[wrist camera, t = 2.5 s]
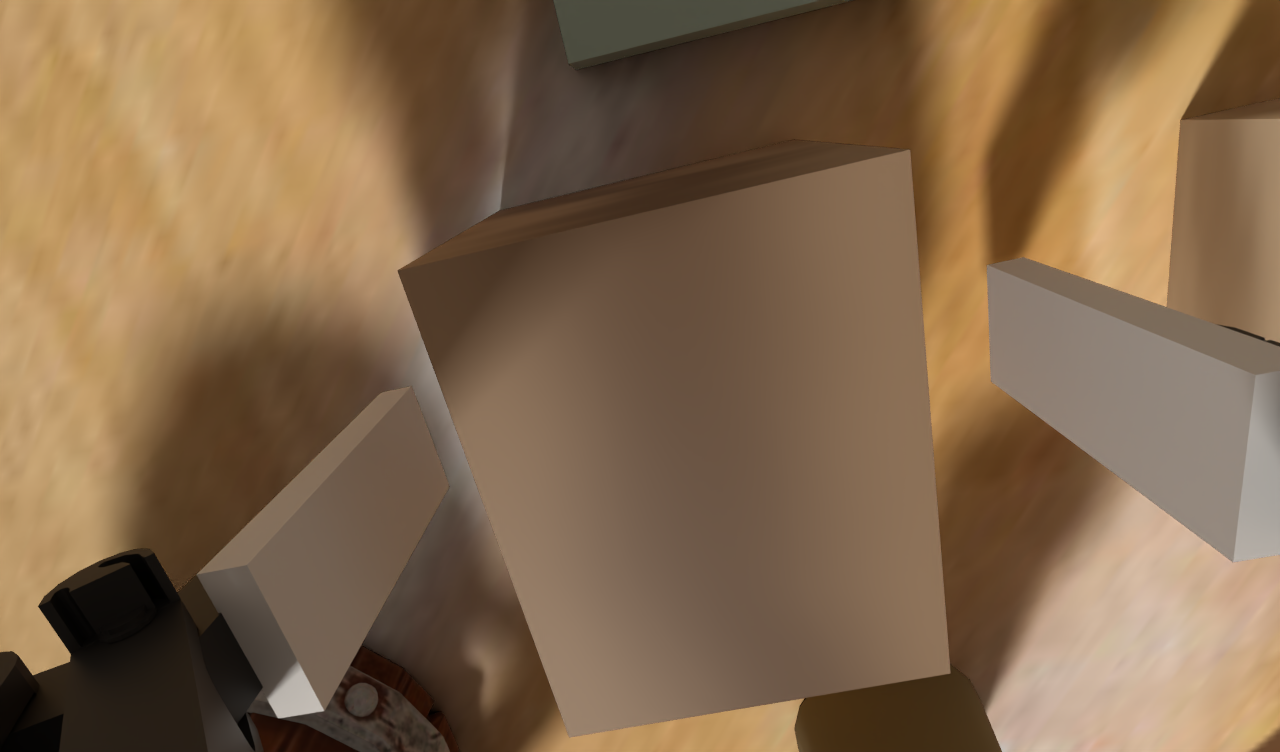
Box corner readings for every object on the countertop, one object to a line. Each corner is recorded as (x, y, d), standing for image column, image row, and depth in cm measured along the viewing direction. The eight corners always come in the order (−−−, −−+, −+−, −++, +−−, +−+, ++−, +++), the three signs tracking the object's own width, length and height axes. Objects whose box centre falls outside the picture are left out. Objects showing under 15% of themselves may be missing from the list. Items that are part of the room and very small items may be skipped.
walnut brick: (595, 522, 19) (569, 737, 12) (501, 209, 15) (397, 270, 9) (838, 475, 18) (950, 673, 11) (792, 139, 15) (910, 150, 8)
